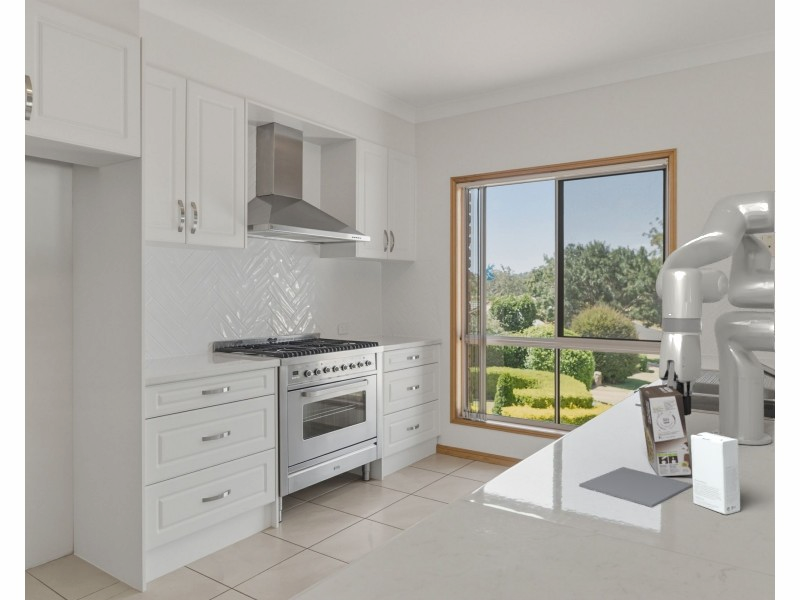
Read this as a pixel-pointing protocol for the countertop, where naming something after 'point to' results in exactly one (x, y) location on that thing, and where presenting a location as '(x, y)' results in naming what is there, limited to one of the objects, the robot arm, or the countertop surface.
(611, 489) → the mat
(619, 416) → the countertop surface
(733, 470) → the skincare box
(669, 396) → the coffee box
